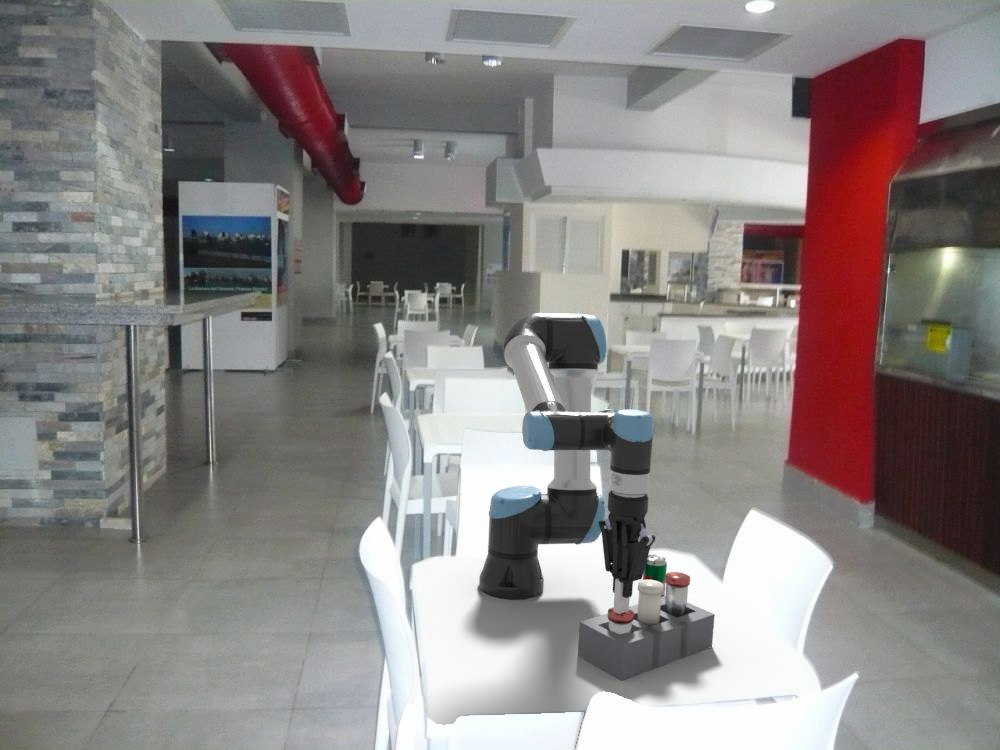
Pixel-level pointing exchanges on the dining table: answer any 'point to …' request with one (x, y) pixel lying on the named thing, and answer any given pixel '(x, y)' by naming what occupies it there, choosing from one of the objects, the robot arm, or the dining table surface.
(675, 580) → the clear jar
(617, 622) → the red-capped vial
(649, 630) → the gray vial holder
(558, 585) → the dining table surface
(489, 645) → the dining table surface
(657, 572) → the soda can
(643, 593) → the white capped bottle
